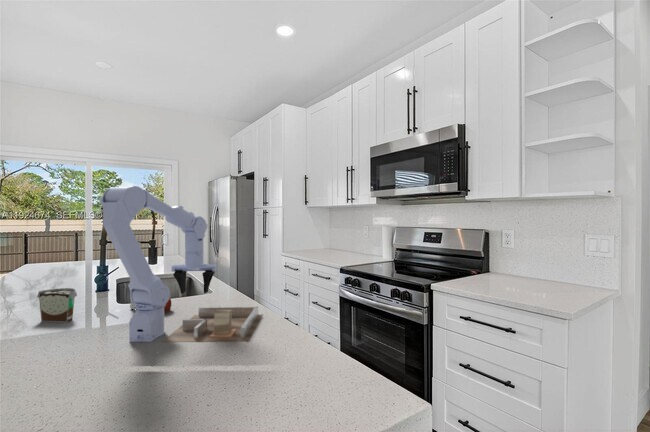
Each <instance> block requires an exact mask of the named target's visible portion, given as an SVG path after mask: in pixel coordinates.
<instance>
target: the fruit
mask: <svg viewBox="0 0 650 432" xmlns="http://www.w3.org/2000/svg"><path fill="white" fill-rule="evenodd" d="M171 308H172V299H171V297H170V298H169V300H168V302H167V303H166V306H165V307H164V315H165V314H167V313H169V312H170V311H171Z"/></svg>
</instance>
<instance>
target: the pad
mask: <svg viewBox="0 0 650 432" xmlns="http://www.w3.org/2000/svg"><path fill="white" fill-rule="evenodd" d="M235 331H236V329H232V331H231V332H230V334H229V335H214V332H213V333H212V334H211V335H210V337H232V335H233V334H234V332H235Z"/></svg>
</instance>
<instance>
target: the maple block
mask: <svg viewBox="0 0 650 432" xmlns="http://www.w3.org/2000/svg"><path fill="white" fill-rule="evenodd" d="M231 331H232V310H218V311H217V312H216V313H215V314H214V335H229V334H230V332H231Z"/></svg>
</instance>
